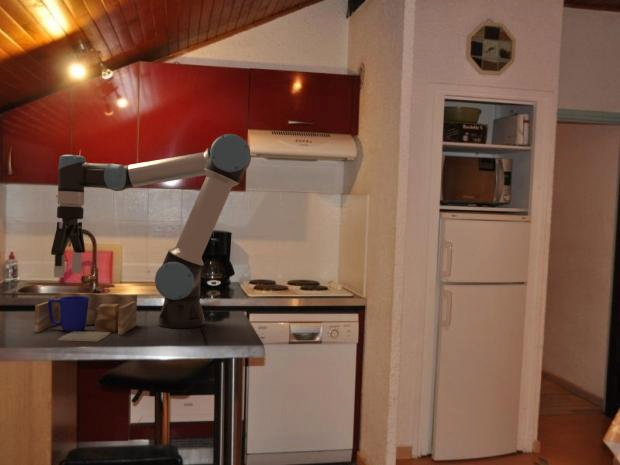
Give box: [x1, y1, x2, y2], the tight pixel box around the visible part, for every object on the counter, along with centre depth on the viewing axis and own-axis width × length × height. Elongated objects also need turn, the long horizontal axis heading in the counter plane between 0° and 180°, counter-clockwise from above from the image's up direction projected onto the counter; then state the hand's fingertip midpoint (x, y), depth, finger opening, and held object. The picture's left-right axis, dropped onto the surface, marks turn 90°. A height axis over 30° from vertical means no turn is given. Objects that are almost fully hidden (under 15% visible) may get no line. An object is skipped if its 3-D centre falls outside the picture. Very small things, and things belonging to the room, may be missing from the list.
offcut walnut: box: [94, 317, 118, 333], centre depth 182 cm, size 6×7×4 cm
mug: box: [48, 296, 89, 333], centre depth 179 cm, size 8×12×10 cm
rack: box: [34, 291, 138, 335], centre depth 183 cm, size 26×16×10 cm, turn 91°
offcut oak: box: [98, 304, 119, 320], centre depth 182 cm, size 5×6×4 cm
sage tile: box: [57, 330, 111, 343], centre depth 170 cm, size 11×11×1 cm
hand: (68, 275), depth 179 cm, fingers open, 13 cm apart
